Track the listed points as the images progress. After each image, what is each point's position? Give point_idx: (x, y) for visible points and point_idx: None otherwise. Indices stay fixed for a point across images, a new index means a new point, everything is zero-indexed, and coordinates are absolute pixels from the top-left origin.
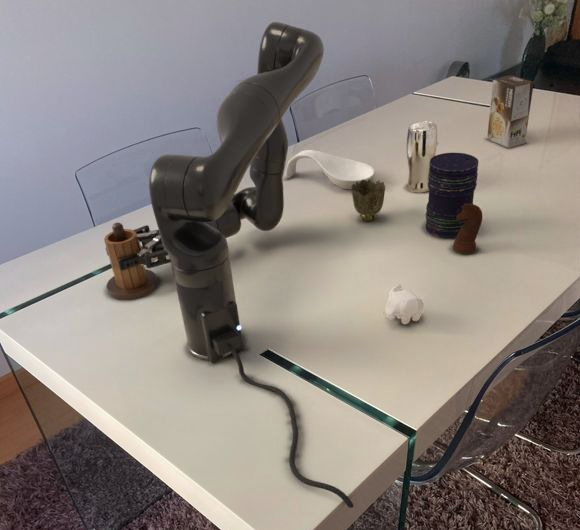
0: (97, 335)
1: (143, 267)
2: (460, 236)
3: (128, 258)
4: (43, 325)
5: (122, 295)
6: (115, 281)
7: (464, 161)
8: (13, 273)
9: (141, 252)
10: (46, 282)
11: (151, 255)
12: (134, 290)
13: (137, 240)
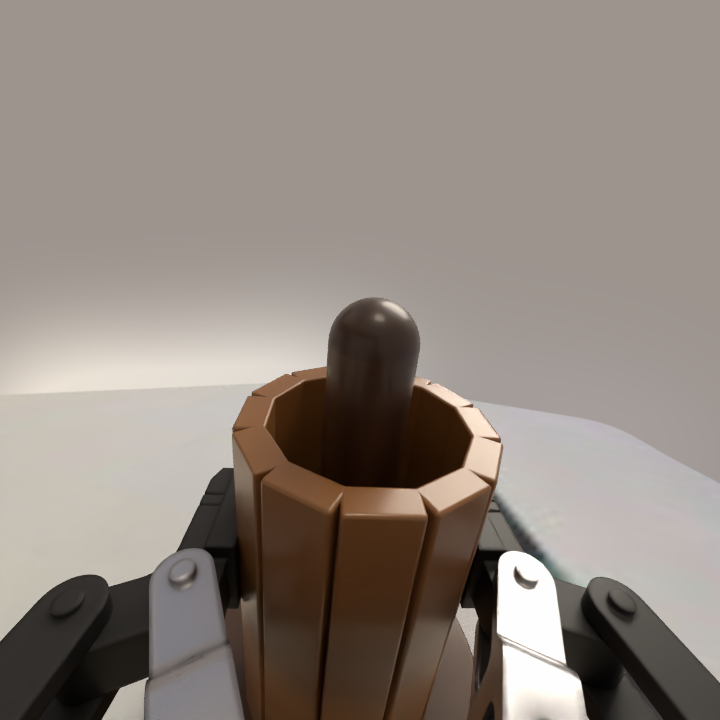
0: (151, 459)
1: (277, 713)
2: None
3: (227, 497)
4: None
5: None
6: None
7: None
8: (578, 425)
9: (168, 577)
10: (512, 454)
11: (5, 649)
12: (234, 632)
13: (299, 556)
